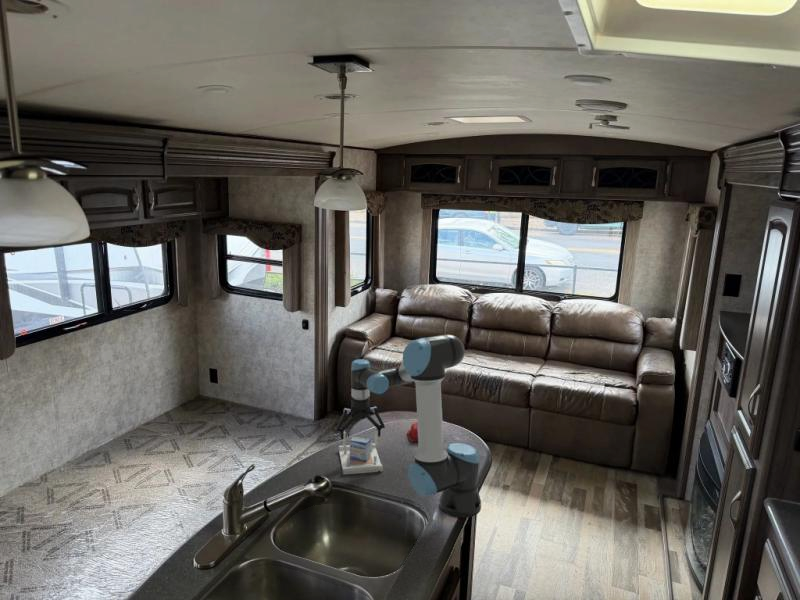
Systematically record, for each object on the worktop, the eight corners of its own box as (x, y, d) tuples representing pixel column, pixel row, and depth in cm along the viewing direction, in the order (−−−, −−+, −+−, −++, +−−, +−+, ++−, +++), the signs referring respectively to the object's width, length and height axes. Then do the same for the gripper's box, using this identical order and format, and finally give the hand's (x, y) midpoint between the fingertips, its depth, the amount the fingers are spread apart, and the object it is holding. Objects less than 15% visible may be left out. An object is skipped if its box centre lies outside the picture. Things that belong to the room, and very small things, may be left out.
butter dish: (430, 431, 263) (431, 414, 261) (435, 442, 252) (435, 425, 250) (406, 432, 262) (407, 415, 260) (410, 443, 251) (410, 426, 249)
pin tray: (382, 471, 225) (382, 461, 224) (343, 474, 222) (343, 464, 221) (375, 448, 244) (375, 439, 244) (339, 451, 241) (339, 441, 240)
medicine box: (349, 459, 232) (349, 440, 230) (353, 454, 236) (353, 435, 234) (366, 462, 230) (367, 443, 228) (370, 457, 234) (370, 438, 232)
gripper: (388, 391, 233) (388, 438, 238) (329, 395, 229) (329, 442, 233) (391, 398, 226) (391, 446, 230) (330, 402, 221) (331, 451, 226)
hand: (360, 444), depth 232 cm, fingers open, 13 cm apart
